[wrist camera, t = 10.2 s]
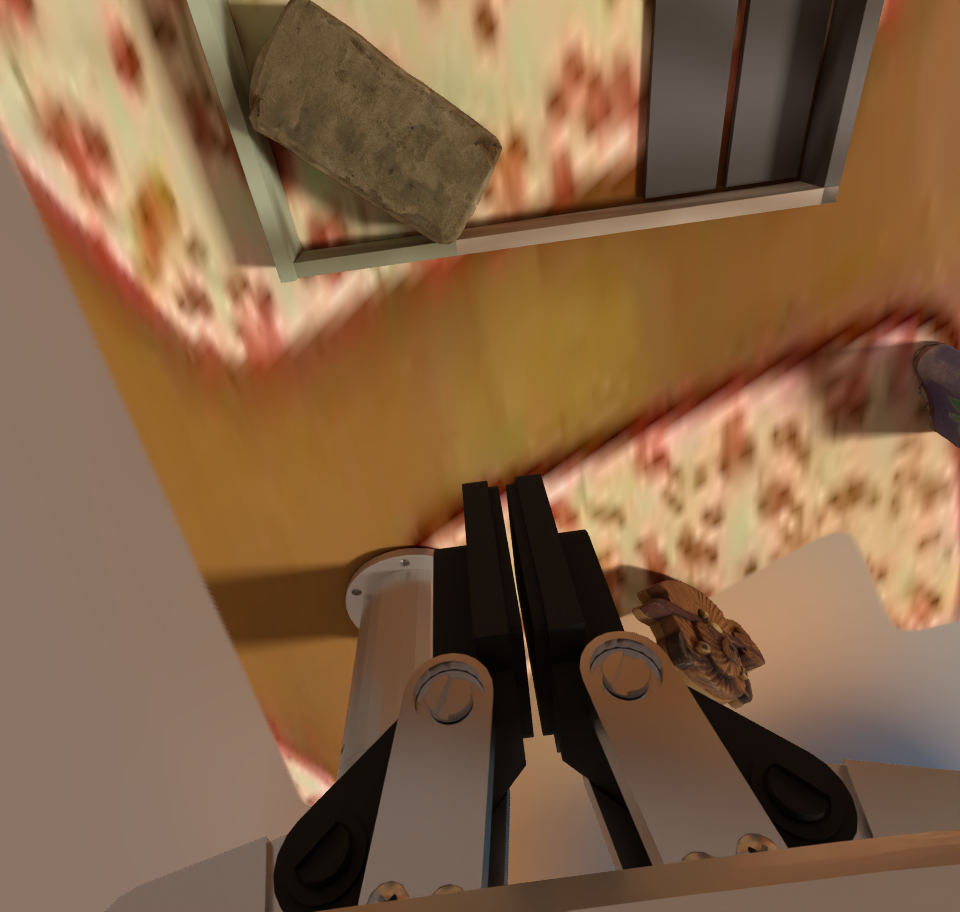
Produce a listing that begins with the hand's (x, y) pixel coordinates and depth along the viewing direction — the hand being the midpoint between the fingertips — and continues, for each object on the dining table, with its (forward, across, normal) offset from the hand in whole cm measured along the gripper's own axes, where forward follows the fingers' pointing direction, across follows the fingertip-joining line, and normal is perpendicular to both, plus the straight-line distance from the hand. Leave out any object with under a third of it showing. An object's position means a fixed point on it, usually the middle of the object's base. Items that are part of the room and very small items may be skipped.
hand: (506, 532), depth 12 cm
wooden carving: (+26, -17, +33) cm, 46 cm away
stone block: (+25, +3, -8) cm, 26 cm away
